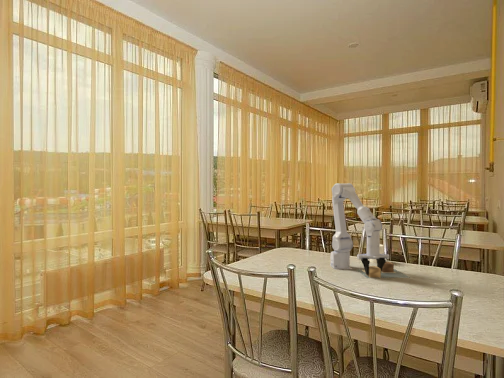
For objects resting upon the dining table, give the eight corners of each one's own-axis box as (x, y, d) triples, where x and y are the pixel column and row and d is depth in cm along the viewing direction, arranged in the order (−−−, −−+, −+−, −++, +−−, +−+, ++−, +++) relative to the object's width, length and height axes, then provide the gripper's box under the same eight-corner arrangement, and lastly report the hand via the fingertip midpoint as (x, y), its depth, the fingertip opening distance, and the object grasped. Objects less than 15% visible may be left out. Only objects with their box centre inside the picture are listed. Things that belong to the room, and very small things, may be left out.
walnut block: (383, 272, 158) (383, 264, 158) (379, 269, 163) (379, 261, 163) (393, 272, 158) (393, 264, 158) (388, 269, 163) (388, 261, 163)
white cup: (381, 261, 183) (381, 243, 183) (385, 264, 175) (385, 246, 175) (366, 261, 184) (366, 243, 184) (370, 264, 176) (370, 246, 176)
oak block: (369, 277, 150) (369, 268, 150) (365, 274, 155) (365, 266, 155) (380, 277, 150) (380, 268, 150) (376, 274, 155) (376, 266, 155)
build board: (367, 279, 149) (367, 278, 149) (355, 270, 164) (355, 269, 164) (410, 278, 149) (410, 277, 149) (394, 270, 164) (394, 268, 164)
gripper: (361, 247, 148) (361, 276, 148) (392, 246, 148) (392, 276, 149) (355, 244, 155) (355, 272, 155) (385, 243, 155) (385, 272, 156)
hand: (373, 274), depth 152 cm, fingers closed on oak block, 5 cm apart
